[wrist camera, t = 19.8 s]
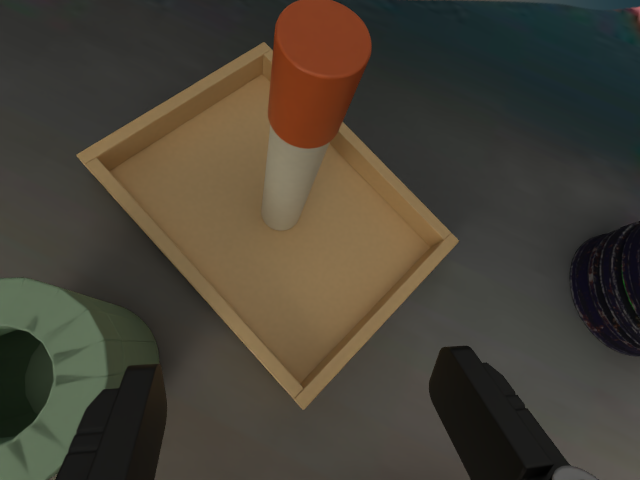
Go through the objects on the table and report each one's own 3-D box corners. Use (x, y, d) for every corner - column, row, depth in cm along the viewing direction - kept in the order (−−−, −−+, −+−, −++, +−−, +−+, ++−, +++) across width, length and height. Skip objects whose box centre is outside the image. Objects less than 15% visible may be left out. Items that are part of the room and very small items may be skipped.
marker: (249, 210, 24) (253, 23, 10) (281, 185, 25) (325, -19, 11) (279, 241, 24) (324, 95, 10) (310, 215, 25) (391, 46, 11)
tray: (92, 174, 24) (75, 154, 21) (262, 67, 28) (264, 41, 26) (297, 403, 22) (303, 410, 20) (440, 250, 27) (459, 240, 25)
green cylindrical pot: (-23, 370, 20) (-208, 387, 12) (105, 276, 22) (25, 236, 14) (66, 480, 19) (-64, 576, 11) (187, 370, 22) (152, 384, 14)
